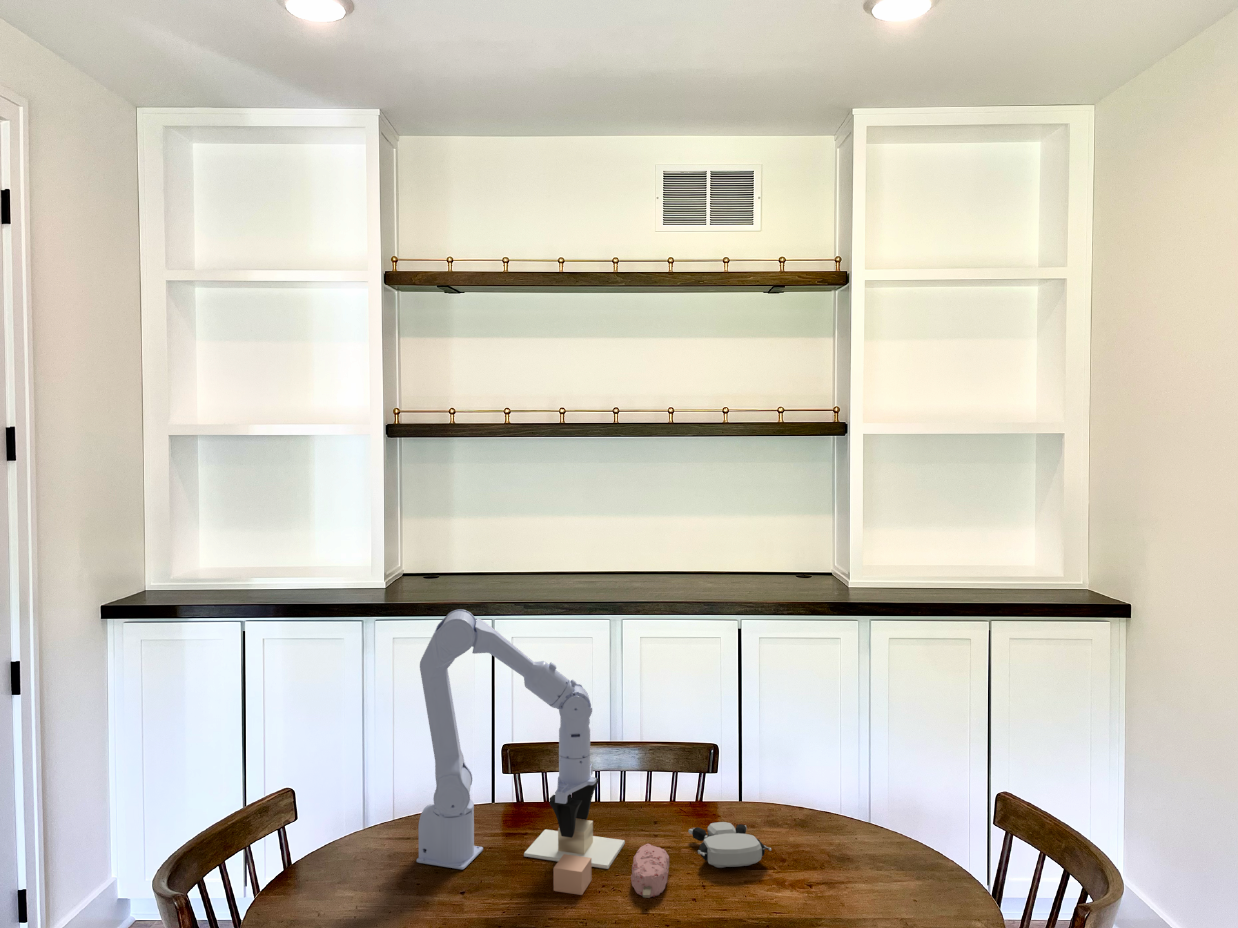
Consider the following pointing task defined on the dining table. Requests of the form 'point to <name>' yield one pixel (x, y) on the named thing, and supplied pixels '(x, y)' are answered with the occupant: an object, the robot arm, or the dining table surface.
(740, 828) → the robot toy
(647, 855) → the ice cream bar
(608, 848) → the mat
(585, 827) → the ash brick
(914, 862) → the dining table surface
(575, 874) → the terracotta brick
